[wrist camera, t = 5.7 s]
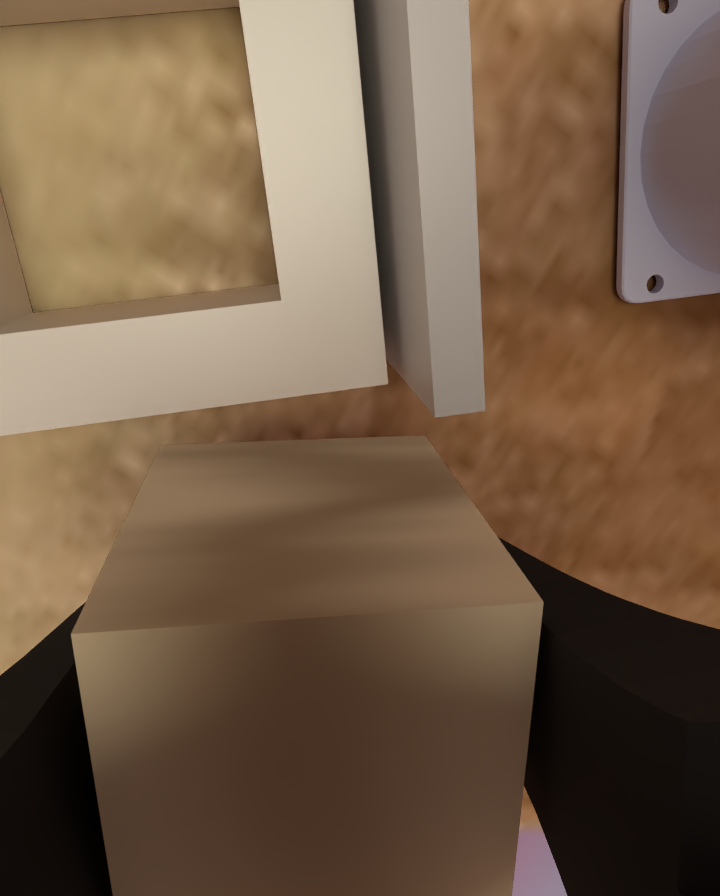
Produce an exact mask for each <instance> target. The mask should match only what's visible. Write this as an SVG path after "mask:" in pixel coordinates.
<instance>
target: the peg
mask: <svg viewBox="0 0 720 896" xmlns="http://www.w3.org/2000/svg"><path fill="white" fill-rule="evenodd" d="M543 603H544V602H543V600H542V599H541V597H540V596H539V595H538V593H537V592H536V590H535V589H534V588H533V586H532V585H531V583H530V582H529V581H528V579H527V578H526V576H525V575H524V574H523V572H522V571H521V569H520V568H519V567H518V565H517V564H516V562H515V561H514V560H513V558H512V557H511V555H510V554H509V552H508V551H507V550H506V548H505V547H504V545H503V544H502V543H501V541H500V540H499V538H498V537H497V536H496V534H495V533H494V531H493V530H492V529H491V527H490V526H489V524H488V523H487V522H486V520H485V519H484V517H483V516H482V515H481V513H480V512H479V510H478V509H477V508H476V506H475V505H474V503H473V502H472V500H471V499H470V498H469V496H468V495H467V493H466V492H465V491H464V489H463V488H462V486H461V485H460V484H459V482H458V481H457V479H456V478H455V477H454V475H453V474H452V472H451V471H450V470H449V468H448V467H447V465H446V464H445V463H444V461H443V460H442V458H441V457H440V455H439V454H438V453H437V451H436V450H435V448H434V447H433V446H432V444H431V443H430V441H429V440H428V439H427V437H426V436H425V435H418V436H390V437H362V438H334V439H306V440H278V441H249V442H221V443H193V444H165V445H161V446H160V448H159V450H158V452H157V454H156V456H155V458H154V461H153V463H152V465H151V467H150V469H149V471H148V473H147V475H146V477H145V479H144V482H143V484H142V486H141V488H140V490H139V492H138V494H137V496H136V498H135V500H134V503H133V505H132V507H131V509H130V511H129V513H128V515H127V517H126V519H125V521H124V524H123V526H122V528H121V530H120V532H119V534H118V536H117V538H116V540H115V542H114V544H113V547H112V549H111V551H110V553H109V555H108V557H107V559H106V561H105V563H104V565H103V568H102V570H101V572H100V574H99V576H98V578H97V580H96V582H95V584H94V586H93V589H92V591H91V593H90V595H89V597H88V599H87V601H86V603H85V605H84V607H83V610H82V612H81V614H80V616H79V618H78V620H77V622H76V624H75V626H74V628H73V631H72V633H71V638H72V645H73V651H74V657H75V663H76V670H77V676H78V682H79V688H80V695H81V701H82V707H83V713H84V719H85V726H86V732H87V738H88V744H89V751H90V757H91V763H92V769H93V775H94V782H95V788H96V794H97V800H98V807H99V813H100V819H101V825H102V831H103V838H104V844H105V850H106V856H107V863H108V869H109V875H110V881H111V888H112V894H113V896H512V888H513V880H514V870H515V861H516V852H517V843H518V834H519V825H520V815H521V806H522V797H523V788H524V779H525V769H526V760H527V751H528V742H529V732H530V723H531V714H532V705H533V696H534V686H535V677H536V668H537V659H538V650H539V640H540V631H541V622H542V613H543Z"/></svg>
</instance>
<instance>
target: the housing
mask: <svg viewBox="0 0 720 896" xmlns="http://www.w3.org/2000/svg"><path fill="white" fill-rule="evenodd" d="M231 7H240V14H241V21H242V28H243V35H244V42H245V49H246V56H247V63H248V70H249V77H250V84H251V91H252V98H253V106H254V113H255V120H256V127H257V134H258V141H259V148H260V155H261V162H262V169H263V176H264V183H265V190H266V198H267V205H268V212H269V219H270V226H271V233H272V240H273V247H274V254H275V261H276V268H277V275H278V283H279V284H271V285H262V286H254V287H245V288H237V289H229V290H220V291H212V292H203V293H195V294H186V295H178V296H170V297H161V298H153V299H144V300H136V301H127V302H119V303H111V304H102V305H94V306H85V307H77V308H69V309H60V310H52V311H43V312H35V313H33V311H32V308H31V304H30V300H29V296H28V293H27V289H26V285H25V281H24V278H23V274H22V270H21V266H20V263H19V259H18V255H17V251H16V248H15V244H14V240H13V237H12V233H11V229H10V225H9V222H8V218H7V214H6V210H5V207H4V203H3V199H2V195H1V192H0V436H4V435H12V434H19V433H27V432H34V431H41V430H49V429H56V428H64V427H71V426H79V425H86V424H94V423H101V422H109V421H116V420H124V419H131V418H139V417H146V416H154V415H161V414H168V413H176V412H183V411H191V410H198V409H206V408H213V407H221V406H228V405H236V404H243V403H251V402H258V401H266V400H273V399H281V398H288V397H295V396H303V395H310V394H318V393H325V392H333V391H340V390H348V389H355V388H363V387H370V386H378V385H385V384H388V375H387V364H386V359H387V361H388V362H389V363H390V364H391V365H392V367H393V368H394V369H395V370H396V372H397V373H398V374H399V375H400V376H401V378H402V379H403V380H404V381H405V382H406V384H407V385H408V386H409V387H410V388H411V390H412V391H413V392H414V393H415V394H416V396H417V397H418V398H419V399H420V400H421V402H422V403H423V404H424V405H425V406H426V408H427V409H428V410H429V411H430V412H431V414H432V415H433V416H434V417H435V418H438V417H445V416H452V415H459V414H466V413H473V412H481V411H485V389H484V365H483V340H482V316H481V292H480V267H479V243H478V219H477V195H476V170H475V146H474V122H473V97H472V73H471V49H470V24H469V0H0V26H11V25H23V24H36V23H48V22H60V21H72V20H85V19H97V18H109V17H121V16H133V15H146V14H158V13H170V12H182V11H194V10H207V9H219V8H231Z"/></svg>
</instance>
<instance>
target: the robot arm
mask: <svg viewBox="0 0 720 896" xmlns="http://www.w3.org/2000/svg"><path fill="white" fill-rule="evenodd" d="M658 1H659V0H625V4H624V15H623V52H622V90H621V128H620V165H619V203H618V241H617V279H616V288H617V294H618V295H619V297H620V298H621V299H622V300H624V301H626V302H630V303H644V302H652V301H660V300H668V299H676V298H683V297H691V296H699V295H707V294H715V293H720V0H669V9H668V12H667V13H666V14H665V13H662V11H661V10H660V9H659V5H658ZM653 275H654V276H655V277H656V281H657V282H656V285H655V287H654V288H653V290H651V291H648V290H647V286H646V285H647V281H648V279H649V278H650V277H651V276H653ZM498 538H499V537H498ZM499 540H500V541H501V543H502V544H503V545H504V547H505V548H506V550H507V551H508V552H509V554H510V555H511V557H512V558H513V560H514V561H515V562H516V564H517V565H518V567H519V568H520V569H521V571H522V572H523V574H524V575H525V576H526V578H527V579H528V581H529V582H530V583H531V585H532V586H533V588H534V589H535V590H536V592H537V593H538V595H539V596H540V597H541V599H542V600H543V602H544V603H543V613H542V622H541V631H540V640H539V650H538V659H537V668H536V677H535V686H534V696H533V705H532V714H531V723H530V732H529V742H528V751H527V760H526V769H525V779H524V786H525V789H526V791H527V793H528V795H529V798H530V800H531V802H532V804H533V806H534V809H535V811H536V813H537V816H538V819H539V821H540V824H541V826H542V829H543V832H544V834H545V837H546V839H547V842H548V845H549V847H550V850H551V853H552V855H553V858H554V860H555V863H556V866H557V868H558V871H559V873H560V876H561V879H562V882H563V885H564V887H565V889H566V893H567V895H568V896H720V630H719V629H716V628H712V627H708V626H705V625H701V624H697V623H693V622H690V621H686V620H682V619H679V618H676V617H673V616H669V615H666V614H663V613H660V612H657V611H654V610H652V609H649V608H646V607H643V606H640V605H638V604H635V603H632V602H629V601H626V600H624V599H621V598H619V597H616V596H614V595H611V594H609V593H606V592H604V591H602V590H600V589H598V588H595V587H593V586H591V585H589V584H586V583H584V582H582V581H580V580H578V579H575V578H573V577H571V576H569V575H567V574H565V573H563V572H561V571H559V570H557V569H555V568H553V567H552V566H550V565H548V564H546V563H544V562H542V561H540V560H538V559H537V558H535V557H533V556H531V555H529V554H527V553H526V552H524V551H522V550H520V549H518V548H517V547H515V546H513V545H511V544H510V543H508V542H506V541H504V540H502V539H501V538H499ZM85 603H86V602H85ZM85 603H84V604H83V605H82V606H80V607H79V608H78V609H77V610H76V611H75V612H74V613H73V614H71V615H70V616H69V617H68V618H67V619H66V620H65V621H64V622H62V623H61V624H60V625H59V626H58V627H57V628H56V629H55V630H53V631H52V632H51V633H50V634H49V635H48V636H47V637H45V638H44V639H43V640H42V641H41V642H40V643H39V644H37V645H36V646H35V647H34V648H33V649H32V650H31V651H30V652H28V653H27V654H26V655H25V656H24V657H23V658H21V659H20V660H19V661H18V662H16V663H15V664H14V665H13V666H12V667H10V668H9V669H8V670H7V671H5V672H4V673H3V674H2V675H0V896H113V894H112V888H111V881H110V875H109V869H108V863H107V856H106V850H105V844H104V838H103V831H102V825H101V819H100V813H99V807H98V800H97V794H96V788H95V782H94V775H93V769H92V763H91V757H90V751H89V744H88V738H87V732H86V726H85V719H84V713H83V707H82V701H81V695H80V688H79V682H78V676H77V670H76V663H75V657H74V651H73V645H72V638H71V633H72V631H73V628H74V626H75V624H76V622H77V620H78V618H79V616H80V614H81V612H82V610H83V607H84V605H85Z"/></svg>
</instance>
